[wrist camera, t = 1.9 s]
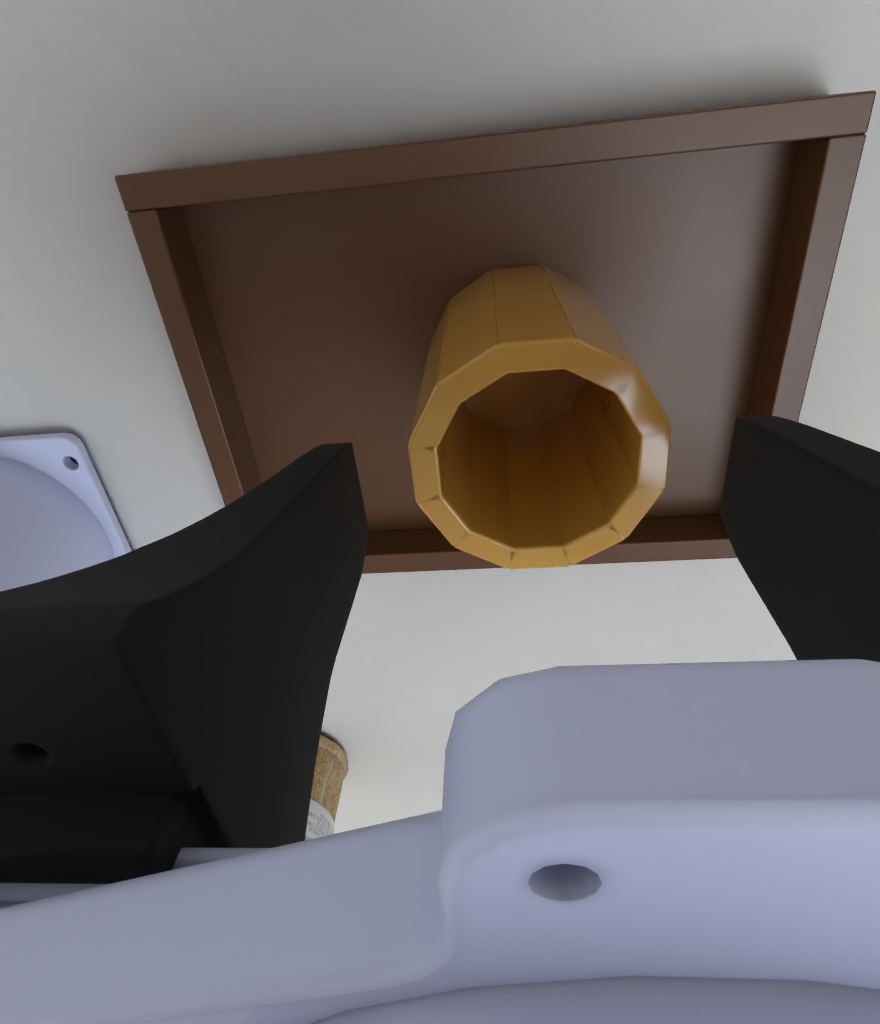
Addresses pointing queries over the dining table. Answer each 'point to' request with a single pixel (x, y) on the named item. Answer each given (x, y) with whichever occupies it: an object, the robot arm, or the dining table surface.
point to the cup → (534, 424)
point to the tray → (500, 244)
